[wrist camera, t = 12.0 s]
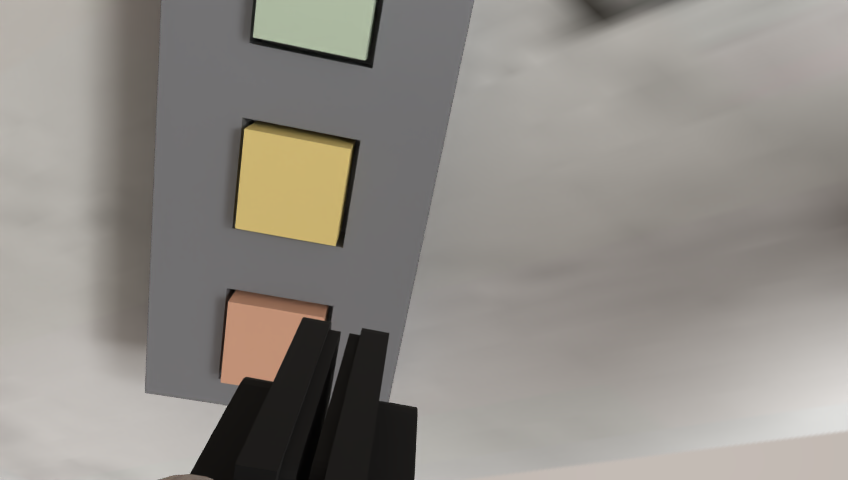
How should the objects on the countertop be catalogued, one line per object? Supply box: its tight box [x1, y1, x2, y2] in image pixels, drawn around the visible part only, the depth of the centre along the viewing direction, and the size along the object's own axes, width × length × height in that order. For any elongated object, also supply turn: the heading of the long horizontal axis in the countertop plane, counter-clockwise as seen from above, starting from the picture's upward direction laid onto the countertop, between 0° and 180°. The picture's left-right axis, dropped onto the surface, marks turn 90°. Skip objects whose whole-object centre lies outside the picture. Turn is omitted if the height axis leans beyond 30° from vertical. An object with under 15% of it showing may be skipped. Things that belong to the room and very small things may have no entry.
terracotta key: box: [221, 290, 329, 385], centre depth 28 cm, size 4×4×2 cm
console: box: [145, 0, 474, 405], centre depth 27 cm, size 12×24×4 cm, turn 169°
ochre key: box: [235, 121, 356, 246], centre depth 26 cm, size 4×4×2 cm
